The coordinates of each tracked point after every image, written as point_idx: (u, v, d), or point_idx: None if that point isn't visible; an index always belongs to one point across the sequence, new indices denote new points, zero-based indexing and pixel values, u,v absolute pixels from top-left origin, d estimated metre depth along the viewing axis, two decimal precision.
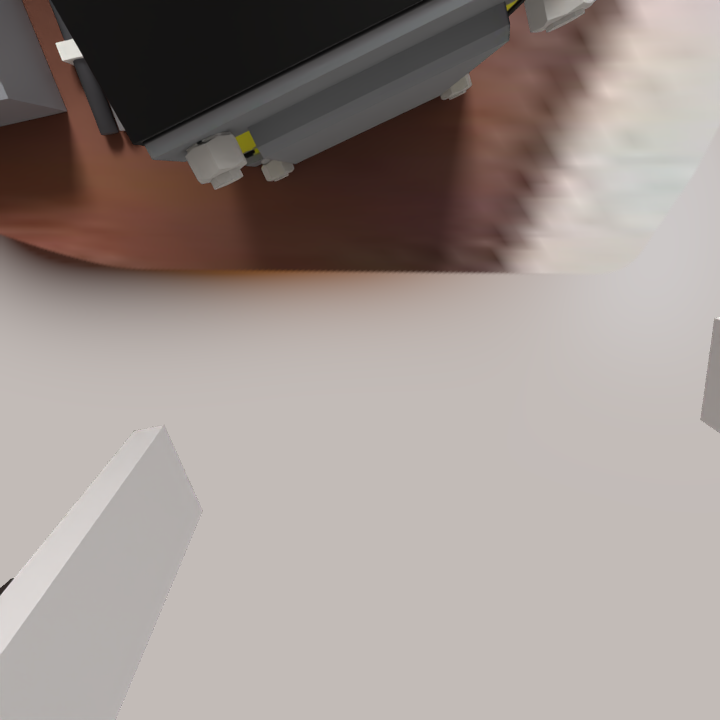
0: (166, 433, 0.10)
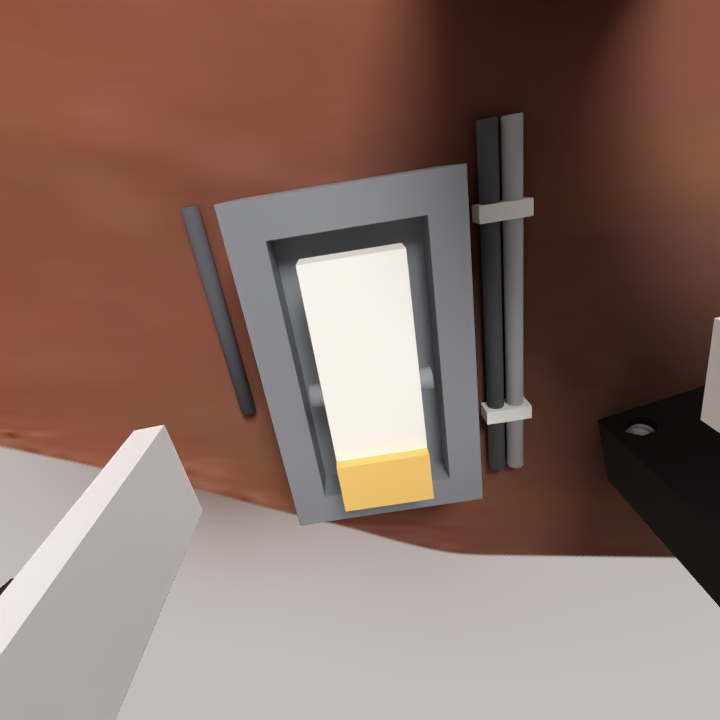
0: (166, 433, 0.10)
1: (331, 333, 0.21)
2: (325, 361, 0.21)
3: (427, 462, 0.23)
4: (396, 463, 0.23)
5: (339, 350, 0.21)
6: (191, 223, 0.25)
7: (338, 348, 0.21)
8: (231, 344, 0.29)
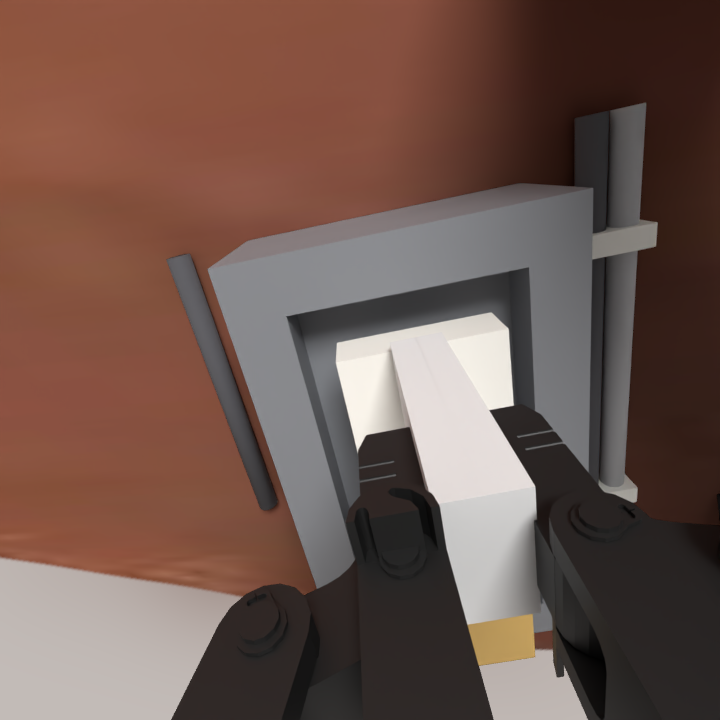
0: None
1: None
2: None
3: (528, 615, 0.16)
4: None
5: None
6: (182, 279, 0.19)
7: None
8: (243, 428, 0.22)
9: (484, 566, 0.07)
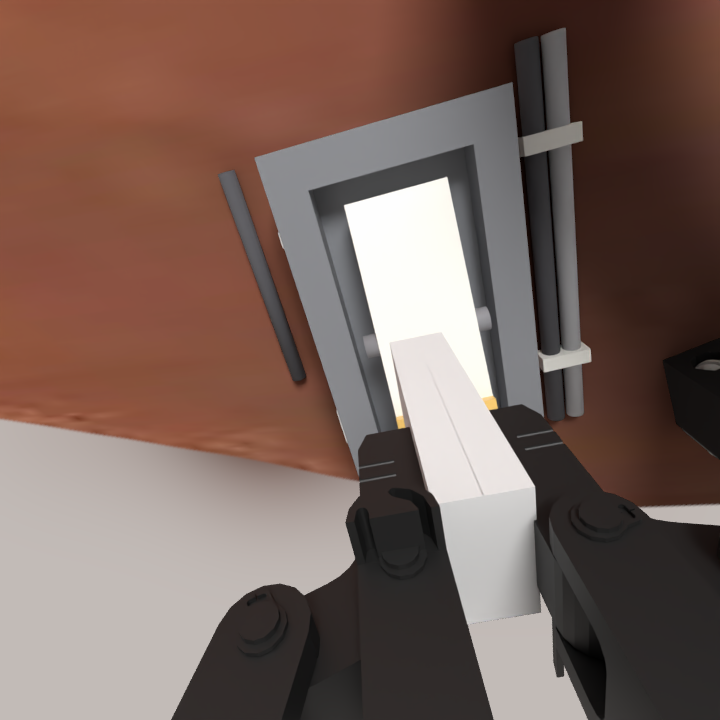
0: None
1: (381, 271, 0.21)
2: (377, 301, 0.21)
3: (494, 408, 0.21)
4: None
5: (390, 288, 0.21)
6: (229, 188, 0.25)
7: (389, 286, 0.21)
8: (278, 310, 0.29)
9: (484, 566, 0.07)
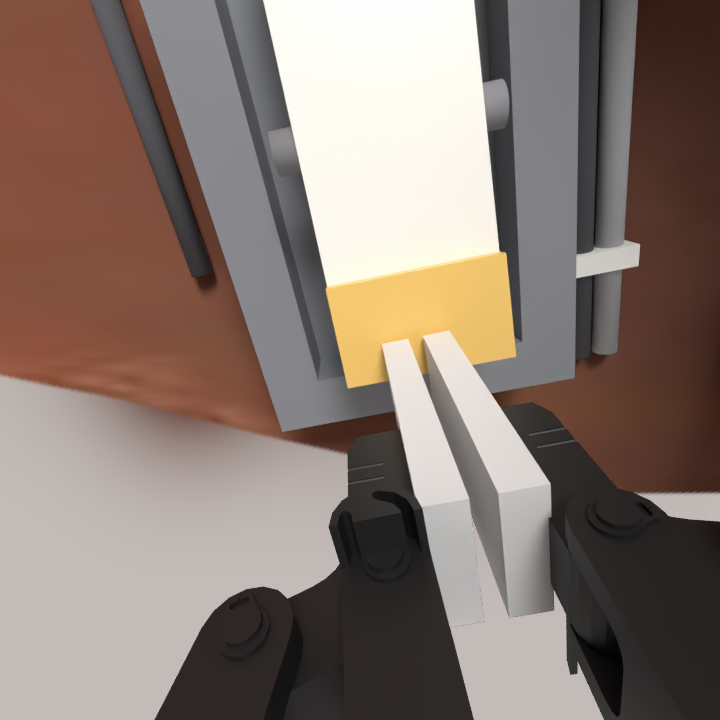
0: None
1: None
2: (292, 44, 0.11)
3: (502, 271, 0.12)
4: (441, 275, 0.12)
5: (319, 16, 0.11)
6: None
7: (317, 11, 0.11)
8: (162, 151, 0.18)
9: (470, 568, 0.07)
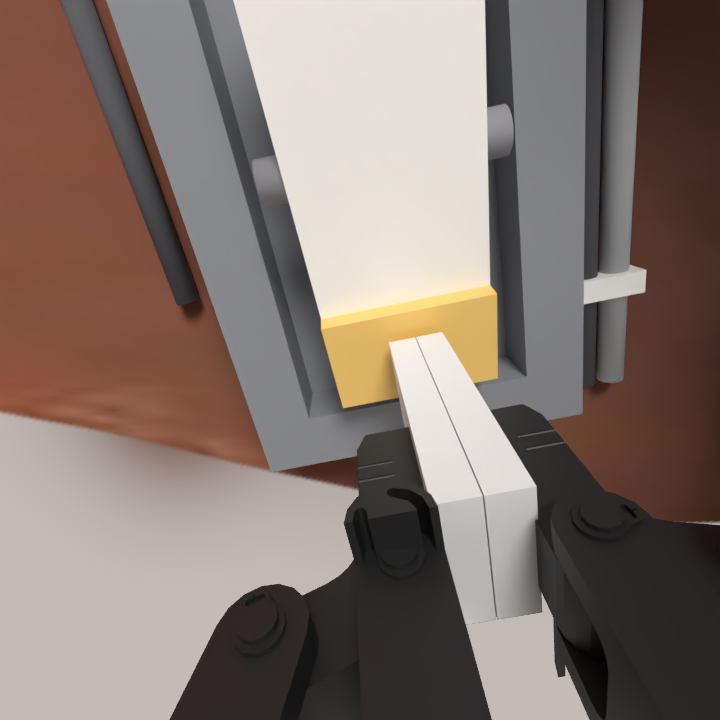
0: None
1: None
2: (276, 76, 0.09)
3: (492, 310, 0.12)
4: (433, 314, 0.12)
5: (307, 43, 0.09)
6: None
7: (305, 36, 0.09)
8: (144, 175, 0.17)
9: (483, 566, 0.07)
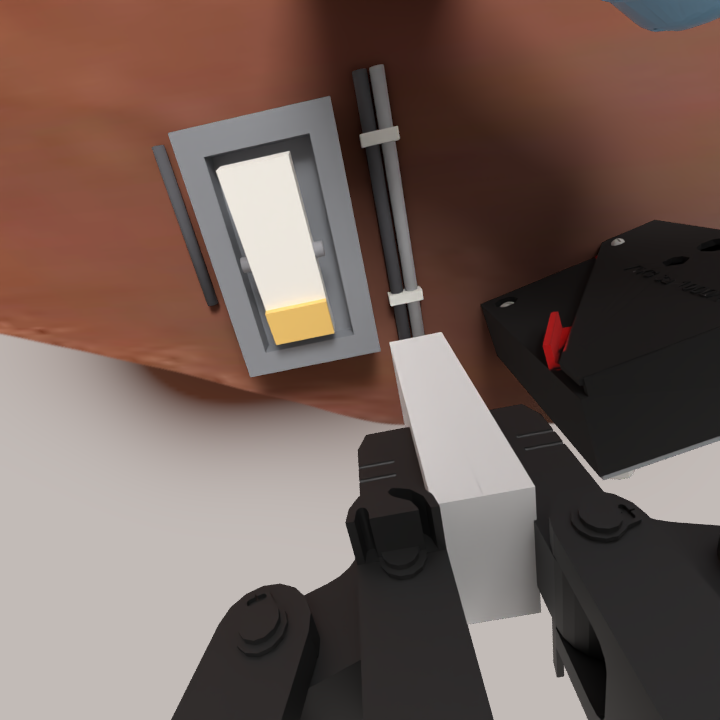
0: None
1: (247, 218, 0.31)
2: (246, 238, 0.32)
3: (325, 307, 0.35)
4: (304, 308, 0.35)
5: (255, 230, 0.31)
6: (159, 157, 0.36)
7: (254, 228, 0.31)
8: (195, 249, 0.39)
9: (484, 566, 0.07)
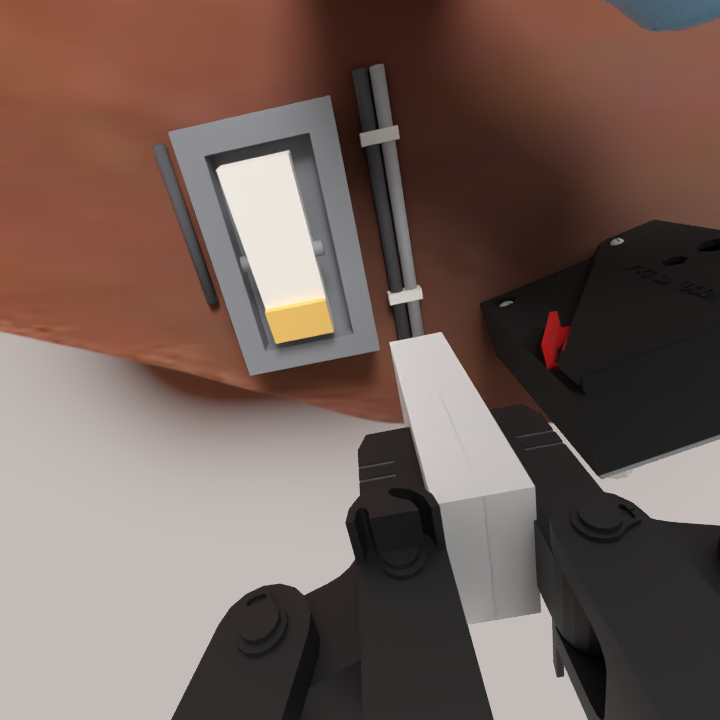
0: None
1: (247, 217, 0.31)
2: (246, 237, 0.32)
3: (325, 306, 0.35)
4: (304, 307, 0.35)
5: (255, 229, 0.32)
6: (160, 156, 0.36)
7: (254, 227, 0.31)
8: (195, 248, 0.40)
9: (484, 566, 0.07)
